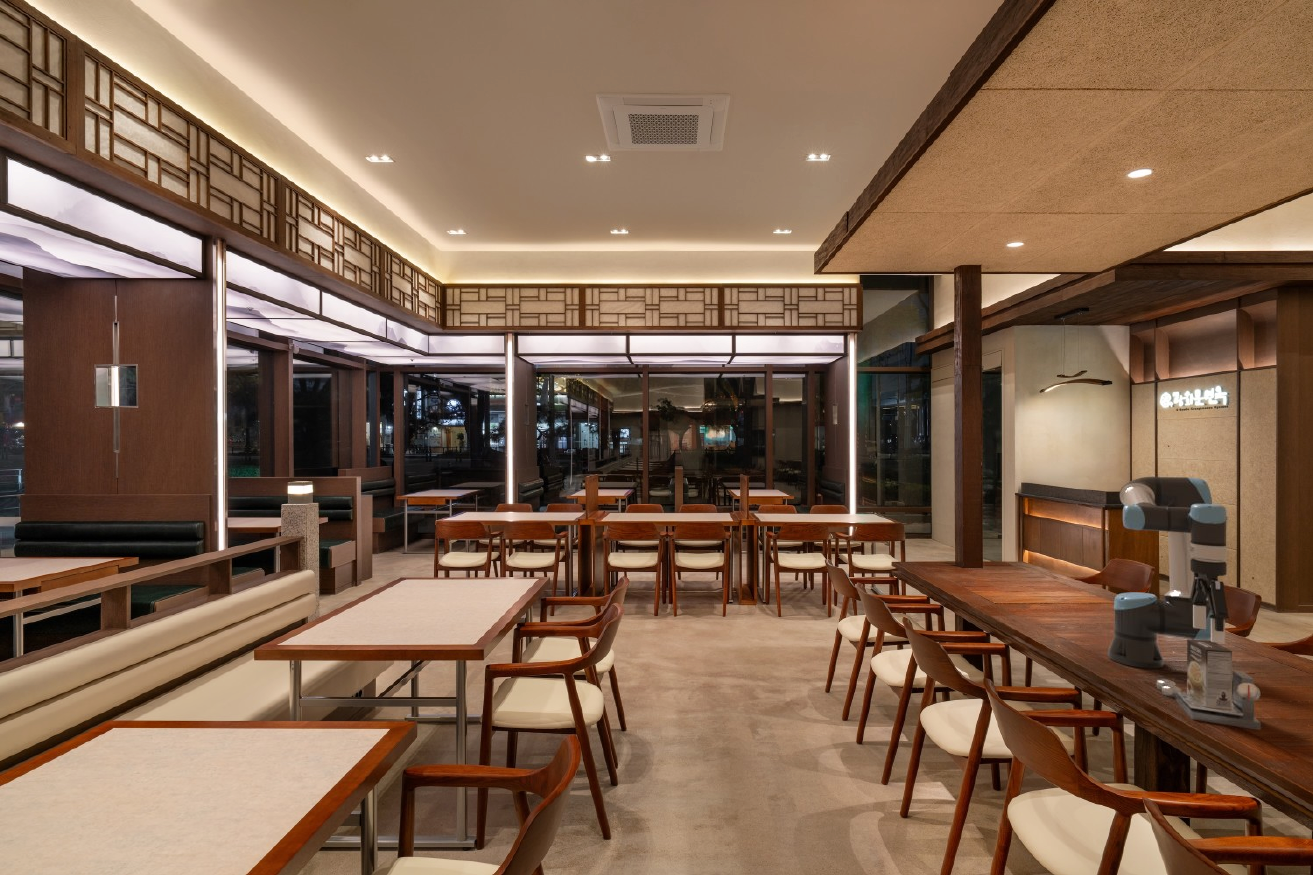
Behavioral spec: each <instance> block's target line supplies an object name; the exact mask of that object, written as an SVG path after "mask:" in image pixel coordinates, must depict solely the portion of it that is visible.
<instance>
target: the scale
mask: <svg viewBox="0 0 1313 875" xmlns="http://www.w3.org/2000/svg"><path fill="white" fill-rule="evenodd" d="M1254 682H1255V679H1254V678H1253V677H1252V676H1250V675H1249V674H1247V673H1246V672H1245V671H1239V670H1232V709H1221V708H1209V707H1205V706H1204V705H1202V704H1201V703H1199V702H1198V701H1196V700H1195V699H1193V698H1192V697H1191V696H1189V695H1188V694H1187V691H1181V692H1180V691H1177V693H1178V694H1177V693H1176V698H1175V701H1176V702H1177V703H1178V705H1179V706H1180V707H1181V708H1182V709H1183V710H1184V711H1185V713H1186V714H1187V715H1188V716H1189V718H1191V719H1192V720H1194V721H1201V722H1207V723H1212V724H1213V723H1214V724H1218V725H1219V724H1220V725H1223V726H1224V725H1225V726H1231V727H1236V728H1237V727H1238V728H1243V729H1244V728H1245V729H1251V730H1255V731H1256V730H1257V731H1261V730H1262V729H1261V728H1262V727H1261V726H1262V725H1261V722H1260V721H1259V719H1257V718H1256V717H1255V701H1257V700H1259V698H1260V697H1261V691H1260V688H1258V686H1257V685H1255V683H1254Z"/></svg>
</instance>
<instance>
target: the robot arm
mask: <svg viewBox="0 0 1313 875" xmlns="http://www.w3.org/2000/svg"><path fill="white" fill-rule="evenodd" d="M1211 493H1212V492H1211V489H1210V487H1209V484H1208V483H1207V482H1206V480H1204V479H1202V478H1197V477H1189V476H1188V477H1182V476H1181V477H1180V476H1178V477H1173V476H1161V477H1160V476H1144V477H1138V478H1135V479H1133V480H1131V481H1127V483H1125V484H1124V485H1122V487H1121V489H1120V491H1119V500H1120V502H1121V504H1123V508H1122V523H1123V524H1122V525H1123V527H1124V528H1125V529H1128V530H1136V531H1151V532H1152V531H1153V532H1155V531H1157V532H1167V533H1168V534H1167V535H1168V539H1167V540H1168V570H1169V573H1168V575H1169V590H1168V591H1167V592H1166V593H1165V594H1164V596H1163V598H1164V599H1158V597H1157V596H1156V595H1155V594H1153V593H1148V592H1147V593H1146V592H1137V591H1136V592H1132V591H1131V592H1122V593H1119V594H1117V595H1116V596H1115V597H1114V601H1113V602H1114V606H1113V609H1114V616H1113V617H1114V628H1113V629H1114V631H1113V638H1112V640H1111V643H1110V645H1109V647H1108V649H1107V656H1108V658H1109V659H1110V660H1112V661H1114V662H1116V663H1119V664H1121V665H1126V666H1131V667H1136V668H1141V669H1142V668H1143V669H1152V670H1153V669H1154V670H1155V669H1160V668H1161V669H1162V668H1163V667H1164V666H1165V665H1164V657H1163V654H1162V652H1161V649H1160V647H1159V644H1158V639H1157V638H1158V636H1157V635H1161V636H1169V637H1176V638H1182V639H1188V640H1205V641H1211V642H1215V643H1217V644H1225V643H1226V620H1229V618H1230V616H1229V611H1228V606H1227V599H1226V594H1225V587H1224V586H1225V583H1224V581H1219V577H1220V576H1221V577H1223V576H1226V575H1227V572H1228V571H1227V567H1228V566H1227V562H1226V560H1227V559H1228V549H1227V548H1228V546H1227V520H1228V515H1227V509H1226V507H1225V506H1224V505H1221V504H1213V499H1212V494H1211Z"/></svg>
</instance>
